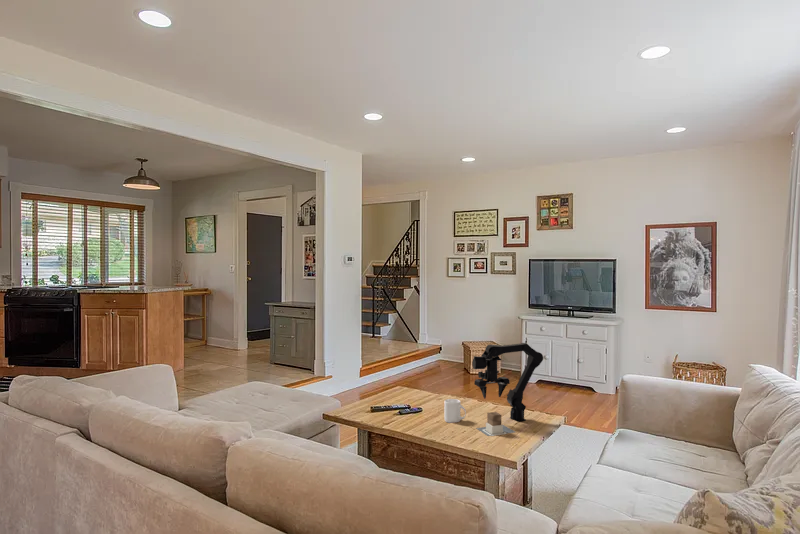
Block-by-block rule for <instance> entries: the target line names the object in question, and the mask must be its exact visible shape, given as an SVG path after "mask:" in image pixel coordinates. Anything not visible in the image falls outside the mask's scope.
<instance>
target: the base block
mask: <svg viewBox="0 0 800 534" xmlns="http://www.w3.org/2000/svg"><path fill="white" fill-rule="evenodd" d="M503 425H504V424H503V423H501V425H496V426H492V425H490V424H488V423H487V422H485V427H486V431H487V432H489V433H490V434H492V435H493V434H500V433H503Z"/></svg>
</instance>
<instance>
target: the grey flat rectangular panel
mask: <svg viewBox="0 0 800 534" xmlns="http://www.w3.org/2000/svg"><path fill="white" fill-rule="evenodd" d="M502 425H503V433H500V434H493V435H492V434H490V433H489V432H487V431H486V426H482V427H477V428H475V429H476V430H478V431H479V432H481V433H482V434H483V435H485V436H487V437H493V436H500V435H507V434H513V433H516V431H514V430H513V429H511V428H510V427H508V426H506V425H505V424H502Z"/></svg>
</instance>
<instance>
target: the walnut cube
mask: <svg viewBox="0 0 800 534" xmlns="http://www.w3.org/2000/svg"><path fill="white" fill-rule="evenodd" d="M486 415H487V416H486V417H487V418H486V419H487V422H486V423H488V424H490V425H492V426H496V425H501V424H502V414H501V413H499V412H497V411H493V412H487V413H486Z"/></svg>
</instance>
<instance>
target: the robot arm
mask: <svg viewBox="0 0 800 534" xmlns="http://www.w3.org/2000/svg"><path fill="white" fill-rule="evenodd" d="M518 352H524V354H525V355H526V356H527V359H526V366H525V367H524V370H523V371H522V373H521V376H520V377H519V379H518V382H517V383H516V385H515V387H514V388H513V389H511V388H510V389H509V391H508V393H507V394H506V396H507V397H506V401H507V403H508V404H509V406H510V407H511V408H510V417H509V419H510V420H512V421H514V422H516V423H518V422H524V421H527V419H526V418H525V410H526V408H527V407H526V405H525V404H524V403H523V399H524V392H525V389H526V388H527V386H528V383H529V381H530V379H531V377H532V375H533V374H534V372H535V370H536V368H538V367H539V366H540V365H541V364H542V362H543V360H544V355H543V354H542V353H541V352H539V351H536V350H535V349H534V348H533V347H532V346H530V345H529V344H528V343H526V342H522V343H512V344H504V345H502V344H500V345H498V344H487V345H486V347H485V349H484V352H483V353H482V354H481V356H477V355H474V356H473V358H472V361H471V364H472V369H473V370H485V371H478V372H477V373H478V374H477V375H478V378H476V379H475V380H474V381H473V382H474V385H475V386H476V387H478V388H479V389H480V391H481V393H482V396H483V399H485V400H486V398H487V389H488V387H487V385H489V384H490V385H491V384H497V386H498V392H497V393H498V398H501V396H502V395H503V392H504V390H505V389H506V387H507V386H508V385H509V384H510V382H511V381H510V378H509V377H506V376H499V375H498V374H499V373H500V371H499V370H498V361H502V358H501V357H500V356H502V355H504V354H510V353H518Z"/></svg>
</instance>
